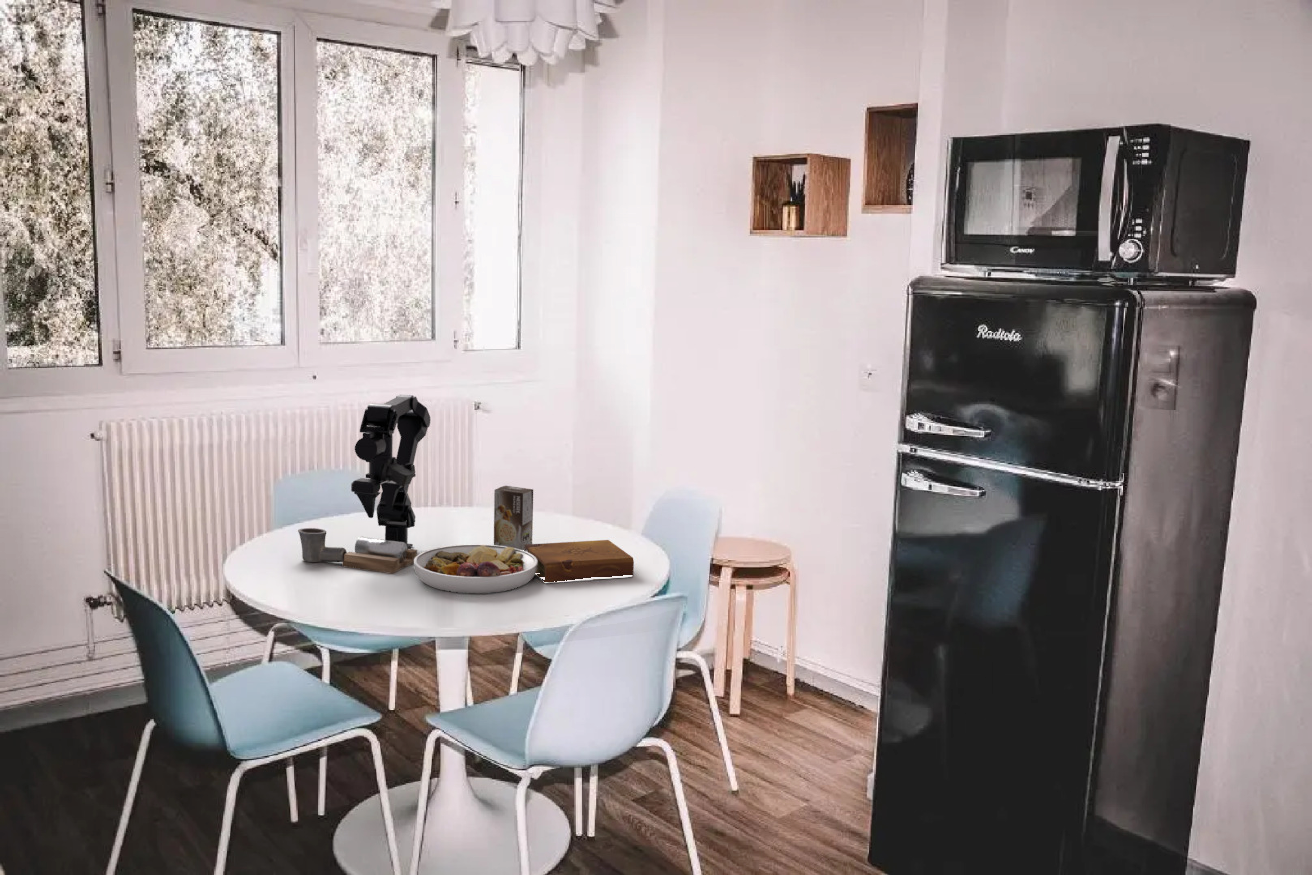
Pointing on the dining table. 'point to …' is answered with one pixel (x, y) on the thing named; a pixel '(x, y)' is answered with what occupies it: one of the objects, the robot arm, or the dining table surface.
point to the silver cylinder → (381, 548)
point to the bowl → (475, 568)
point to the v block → (378, 561)
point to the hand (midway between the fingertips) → (380, 514)
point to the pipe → (318, 547)
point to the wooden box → (580, 560)
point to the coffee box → (513, 517)
